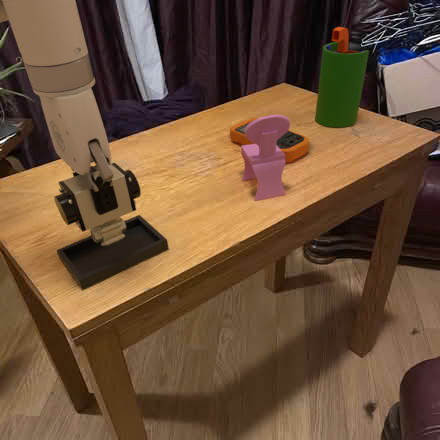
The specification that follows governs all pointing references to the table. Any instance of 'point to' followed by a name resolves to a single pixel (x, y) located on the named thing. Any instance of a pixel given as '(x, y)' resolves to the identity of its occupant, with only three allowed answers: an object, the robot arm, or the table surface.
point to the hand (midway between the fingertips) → (98, 200)
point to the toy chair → (265, 155)
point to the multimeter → (287, 143)
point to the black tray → (112, 253)
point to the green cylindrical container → (340, 82)
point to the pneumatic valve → (85, 208)
